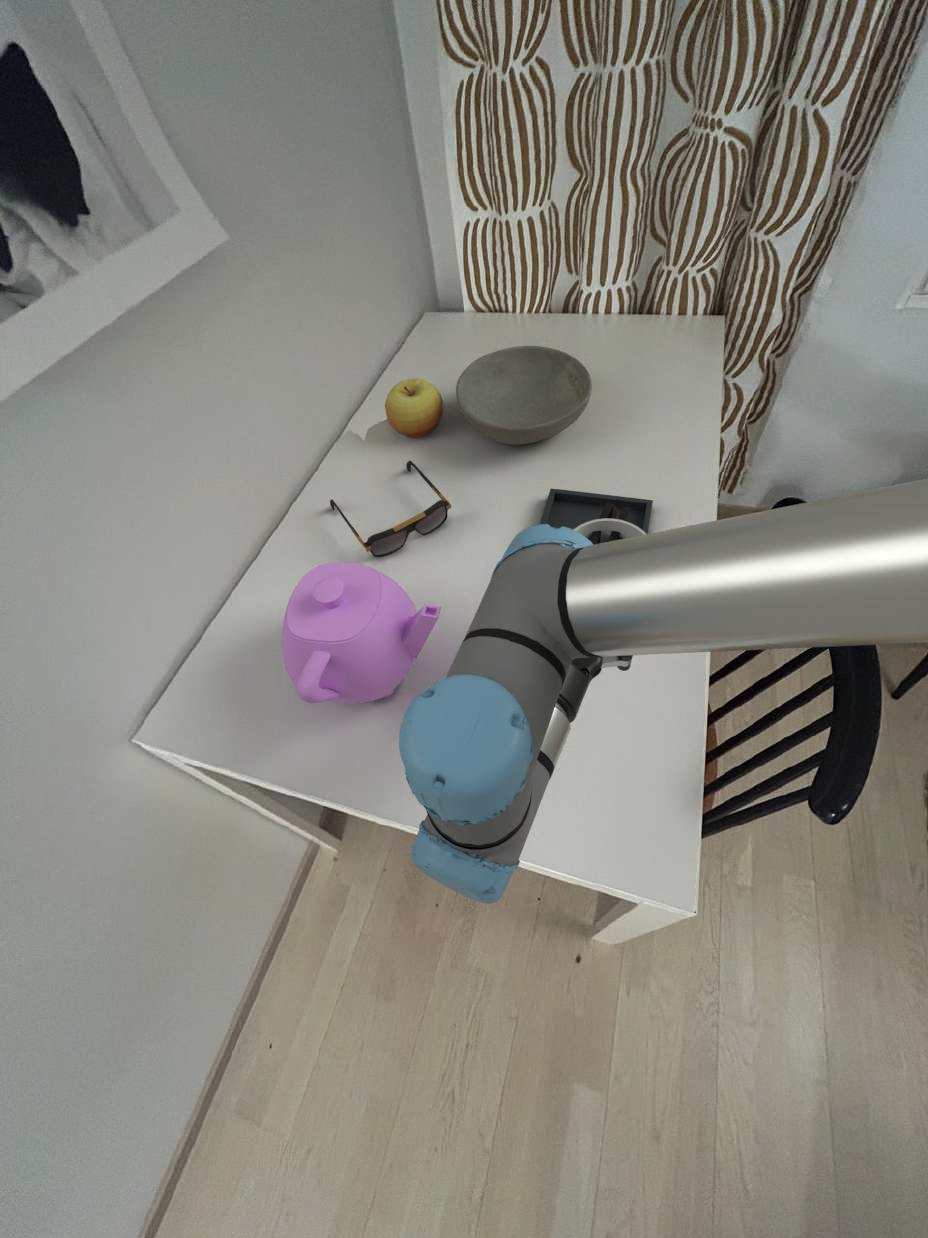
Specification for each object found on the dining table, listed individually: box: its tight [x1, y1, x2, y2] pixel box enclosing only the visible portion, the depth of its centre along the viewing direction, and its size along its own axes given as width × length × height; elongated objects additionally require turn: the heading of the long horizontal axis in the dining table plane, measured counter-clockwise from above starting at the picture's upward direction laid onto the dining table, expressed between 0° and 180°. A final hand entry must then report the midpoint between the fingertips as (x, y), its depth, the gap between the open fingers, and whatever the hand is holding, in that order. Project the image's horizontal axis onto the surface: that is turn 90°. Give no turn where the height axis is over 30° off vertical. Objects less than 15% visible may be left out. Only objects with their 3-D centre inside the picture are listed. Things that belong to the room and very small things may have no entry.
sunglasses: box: [329, 460, 452, 558], centre depth 87 cm, size 14×15×5 cm
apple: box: [384, 377, 444, 438], centre depth 97 cm, size 10×10×8 cm
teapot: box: [281, 562, 442, 704], centre depth 68 cm, size 20×20×15 cm
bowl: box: [455, 345, 593, 446], centre depth 95 cm, size 21×21×8 cm
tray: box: [539, 488, 654, 534], centre depth 80 cm, size 15×18×2 cm
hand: (616, 514), depth 60 cm, fingers closed
